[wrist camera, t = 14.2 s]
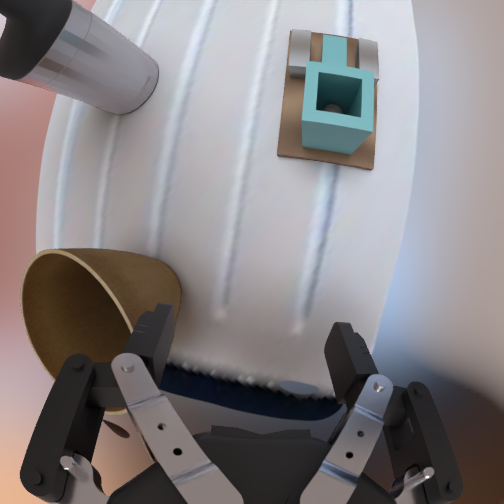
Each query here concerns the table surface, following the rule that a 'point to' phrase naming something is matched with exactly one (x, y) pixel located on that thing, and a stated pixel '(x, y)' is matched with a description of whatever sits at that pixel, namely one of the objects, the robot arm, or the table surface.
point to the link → (336, 101)
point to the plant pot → (90, 302)
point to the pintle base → (296, 118)
